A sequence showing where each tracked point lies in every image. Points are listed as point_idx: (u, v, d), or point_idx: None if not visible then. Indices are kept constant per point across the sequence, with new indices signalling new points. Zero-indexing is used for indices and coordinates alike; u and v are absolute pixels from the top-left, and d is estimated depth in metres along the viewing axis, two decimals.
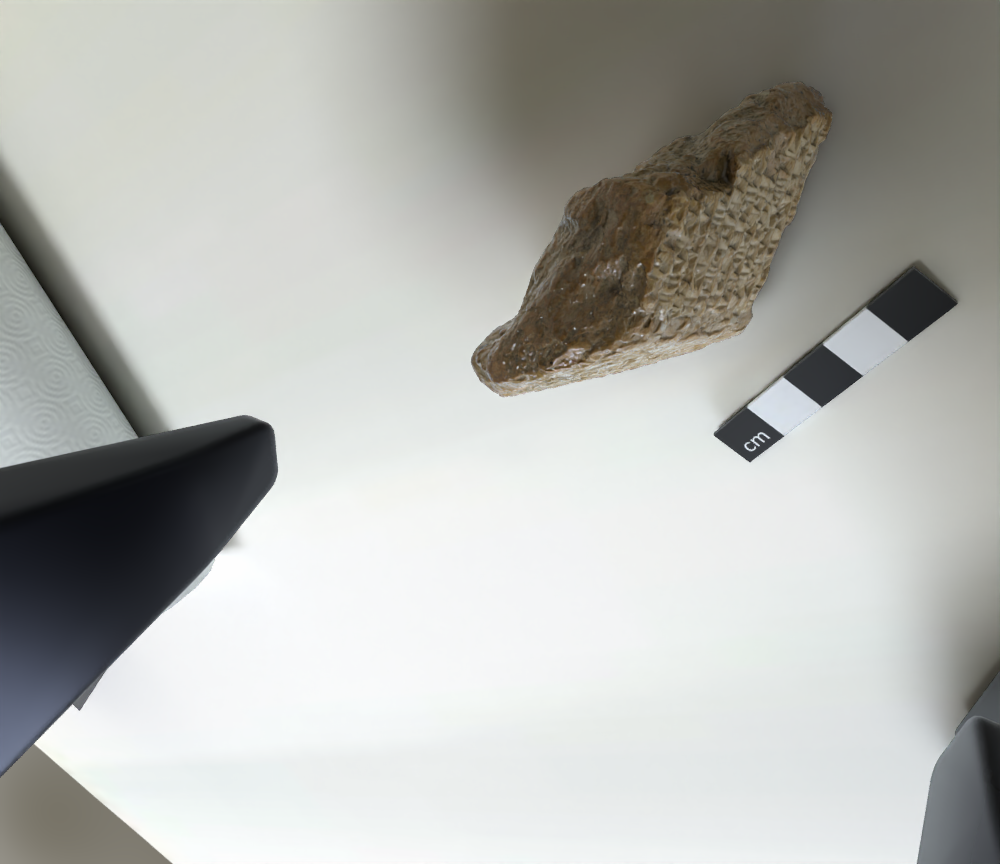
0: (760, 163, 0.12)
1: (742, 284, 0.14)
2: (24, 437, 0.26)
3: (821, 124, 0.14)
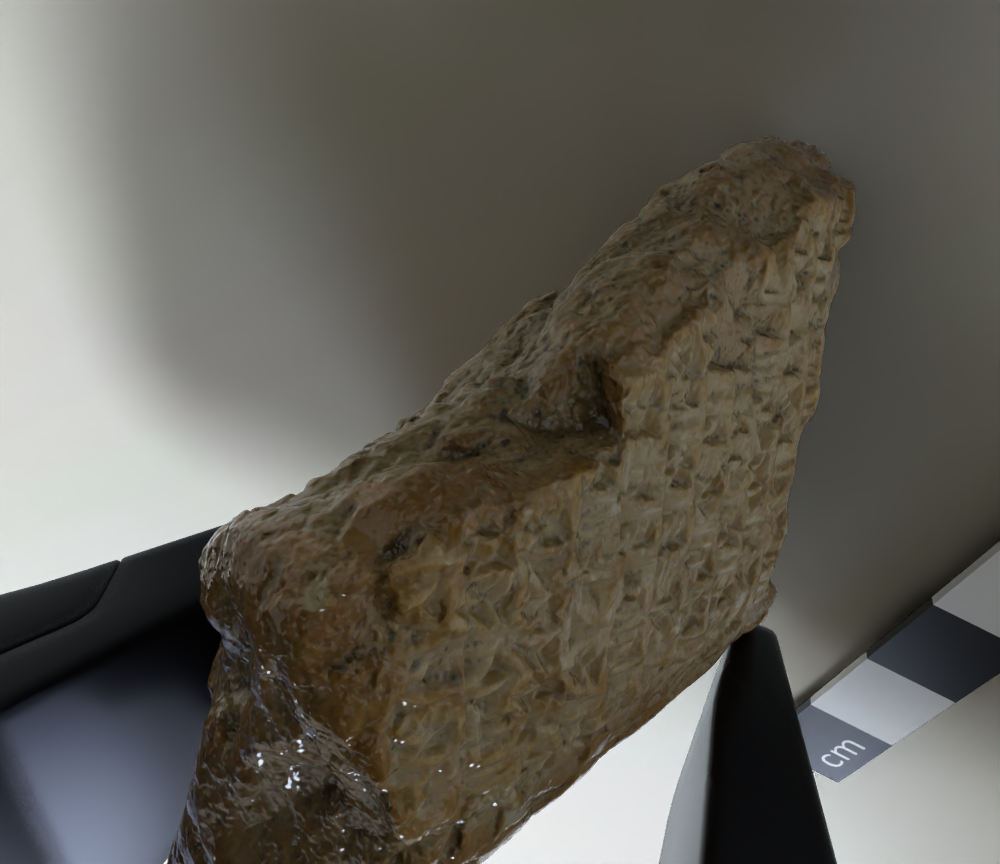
0: (694, 352, 0.05)
1: (728, 578, 0.06)
2: None
3: (833, 214, 0.06)
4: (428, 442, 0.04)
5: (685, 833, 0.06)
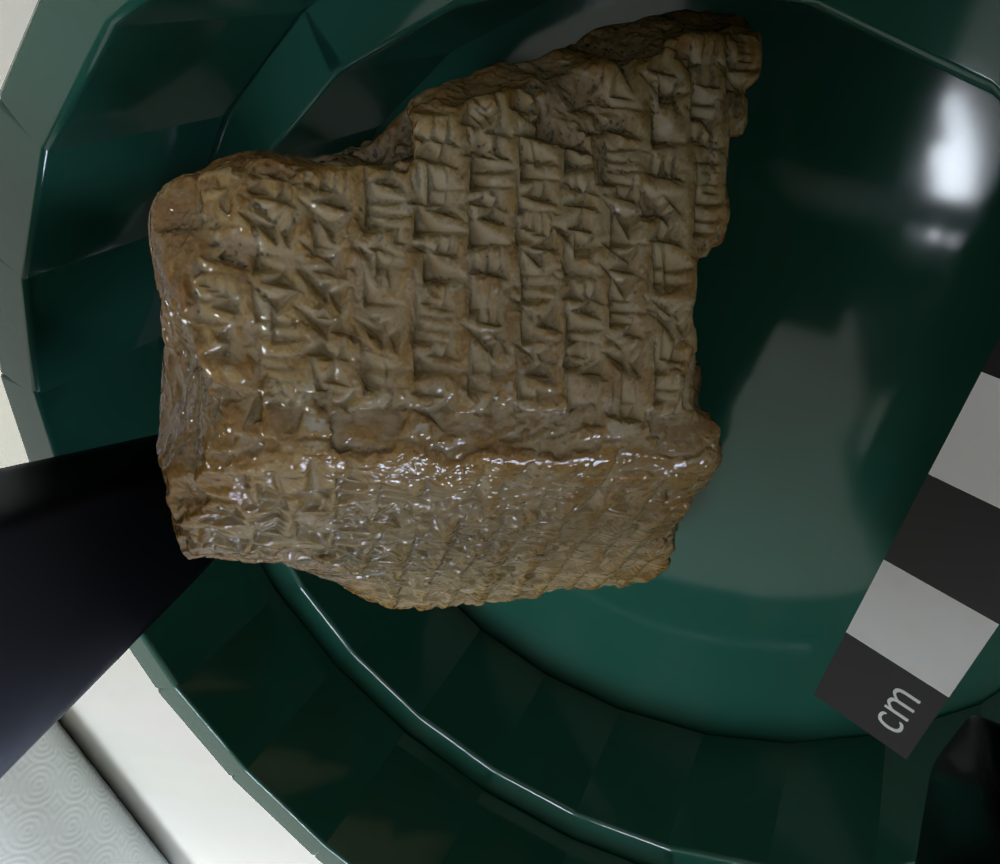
0: (501, 118, 0.07)
1: (596, 352, 0.07)
2: (10, 847, 0.30)
3: (717, 49, 0.07)
4: None
5: None
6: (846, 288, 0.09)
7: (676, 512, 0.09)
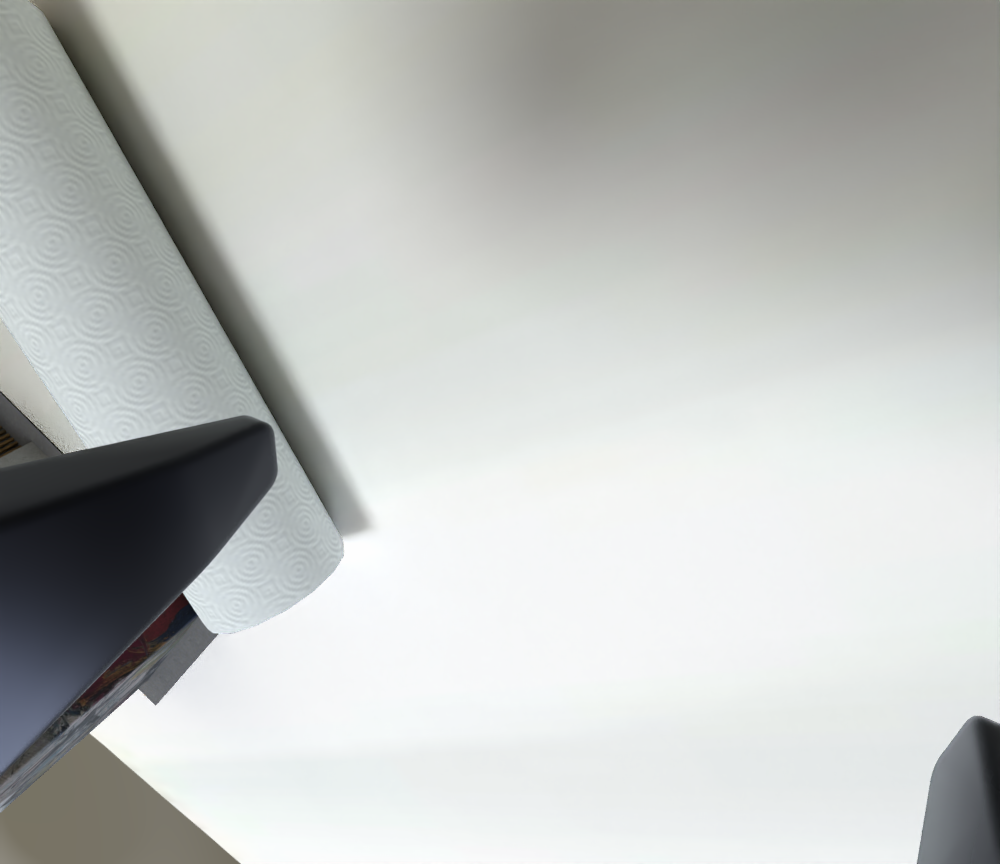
0: None
1: None
2: (175, 411, 0.25)
3: None
4: None
5: None
6: None
7: None
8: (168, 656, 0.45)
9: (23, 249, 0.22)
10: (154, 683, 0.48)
